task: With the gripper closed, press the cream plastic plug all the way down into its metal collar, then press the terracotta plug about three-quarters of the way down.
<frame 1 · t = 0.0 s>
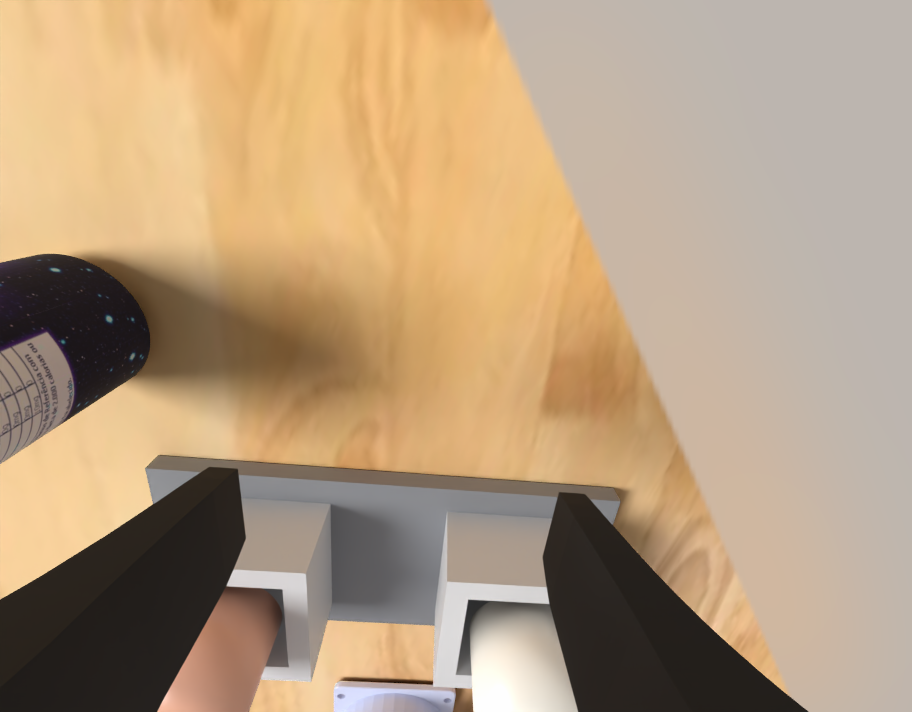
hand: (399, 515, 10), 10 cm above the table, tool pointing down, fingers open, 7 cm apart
plug panel: (388, 545, 24), on the table
terracotta plug: (208, 661, 17), point 6 cm above the table, slide at 0.0 cm
cream plug: (523, 675, 18), point 6 cm above the table, slide at 0.0 cm
beverage can: (97, 315, 18), on the table
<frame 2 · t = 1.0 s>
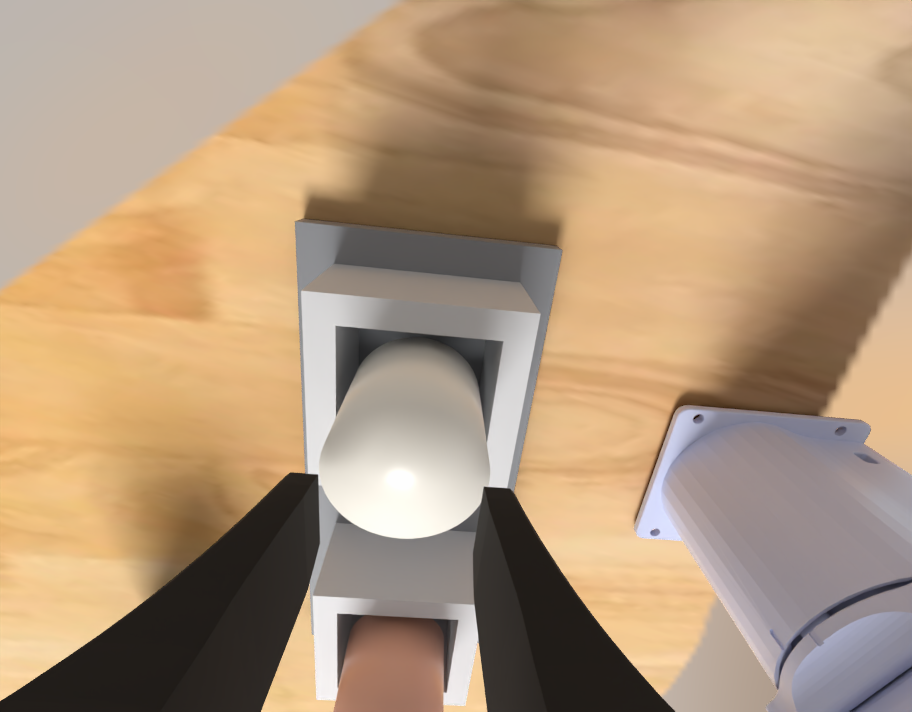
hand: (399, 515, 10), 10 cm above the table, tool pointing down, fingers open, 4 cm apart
plug panel: (412, 468, 21), on the table
terracotta plug: (391, 689, 18), point 6 cm above the table, slide at 0.0 cm
cream plug: (411, 429, 13), point 6 cm above the table, slide at 0.0 cm
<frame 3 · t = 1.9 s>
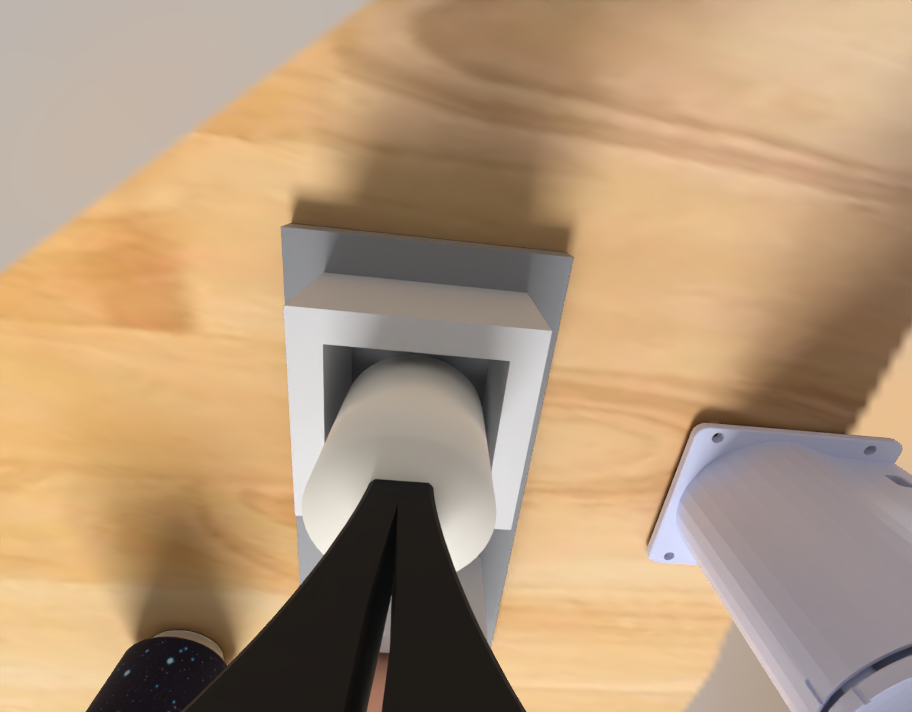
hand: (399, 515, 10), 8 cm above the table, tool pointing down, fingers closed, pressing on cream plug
plug panel: (410, 489, 20), on the table
cream plug: (407, 459, 12), point 6 cm above the table, slide at 0.1 cm, touching gripper
beverage can: (188, 650, 25), on the table
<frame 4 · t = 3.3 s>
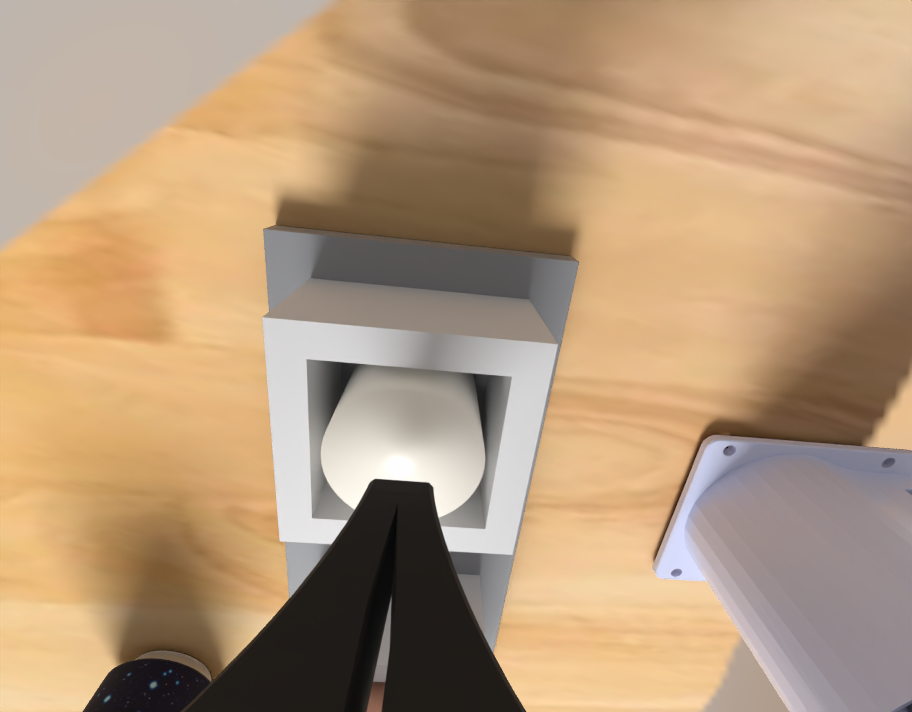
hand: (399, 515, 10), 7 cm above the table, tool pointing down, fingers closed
plug panel: (405, 504, 19), on the table
cream plug: (409, 419, 13), point 3 cm above the table, slide at 3.1 cm
beverage can: (174, 670, 24), on the table
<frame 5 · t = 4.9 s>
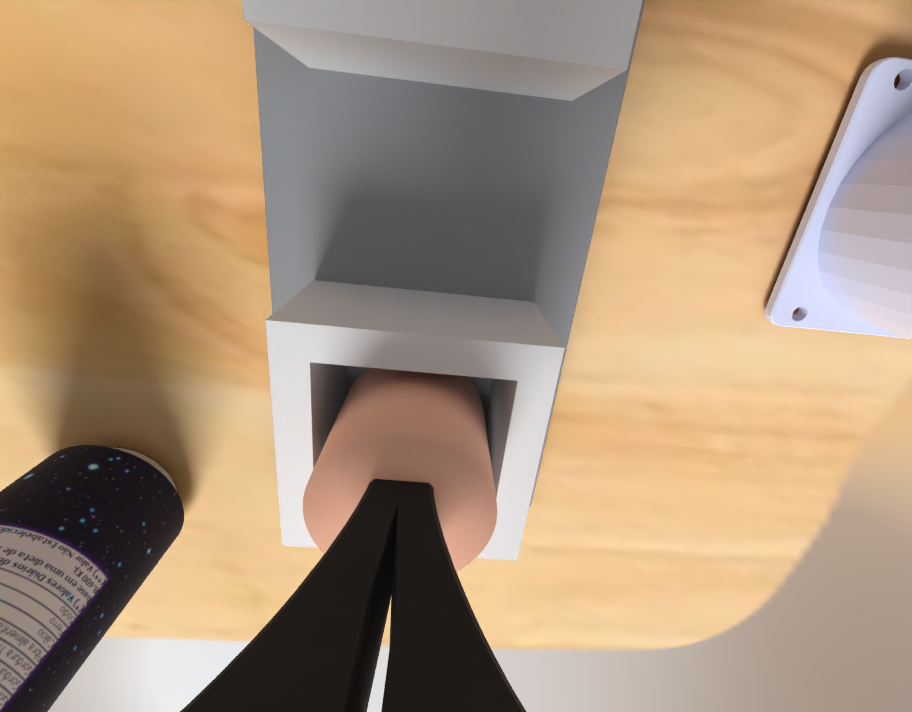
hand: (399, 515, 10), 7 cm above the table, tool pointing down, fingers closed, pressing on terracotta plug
plug panel: (434, 195, 14), on the table
terracotta plug: (408, 458, 12), point 5 cm above the table, slide at 1.3 cm, touching gripper
beverage can: (130, 484, 18), on the table
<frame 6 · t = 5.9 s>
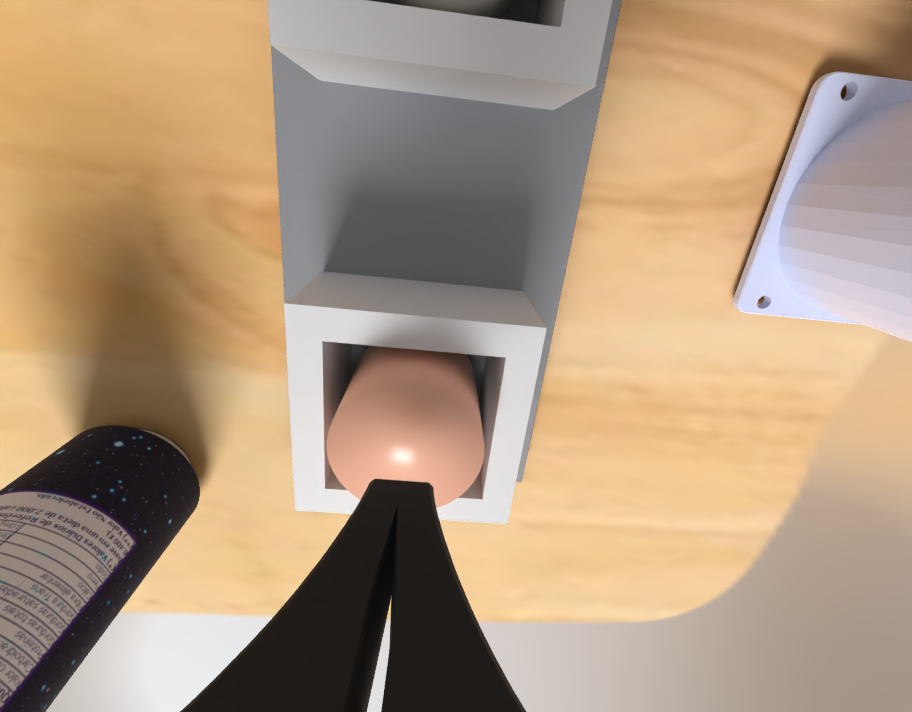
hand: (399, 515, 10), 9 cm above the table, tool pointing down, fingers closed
plug panel: (432, 194, 15), on the table
terracotta plug: (411, 413, 14), point 4 cm above the table, slide at 2.2 cm
beverage can: (148, 464, 20), on the table
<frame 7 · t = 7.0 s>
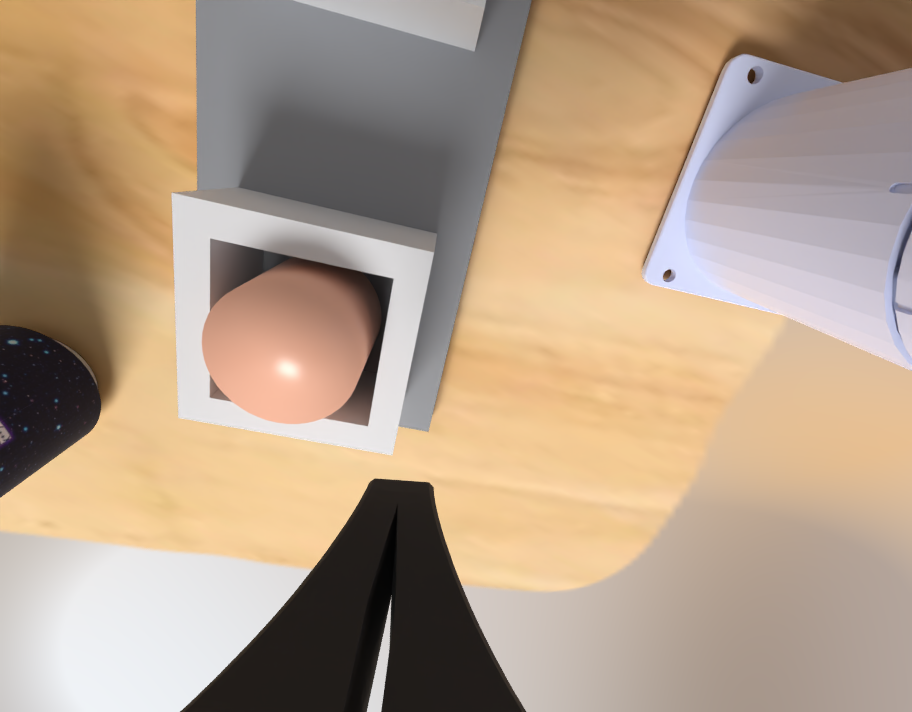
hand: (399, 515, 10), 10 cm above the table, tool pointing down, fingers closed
plug panel: (356, 125, 15), on the table
terracotta plug: (304, 332, 14), point 4 cm above the table, slide at 2.2 cm
beverage can: (52, 376, 19), on the table
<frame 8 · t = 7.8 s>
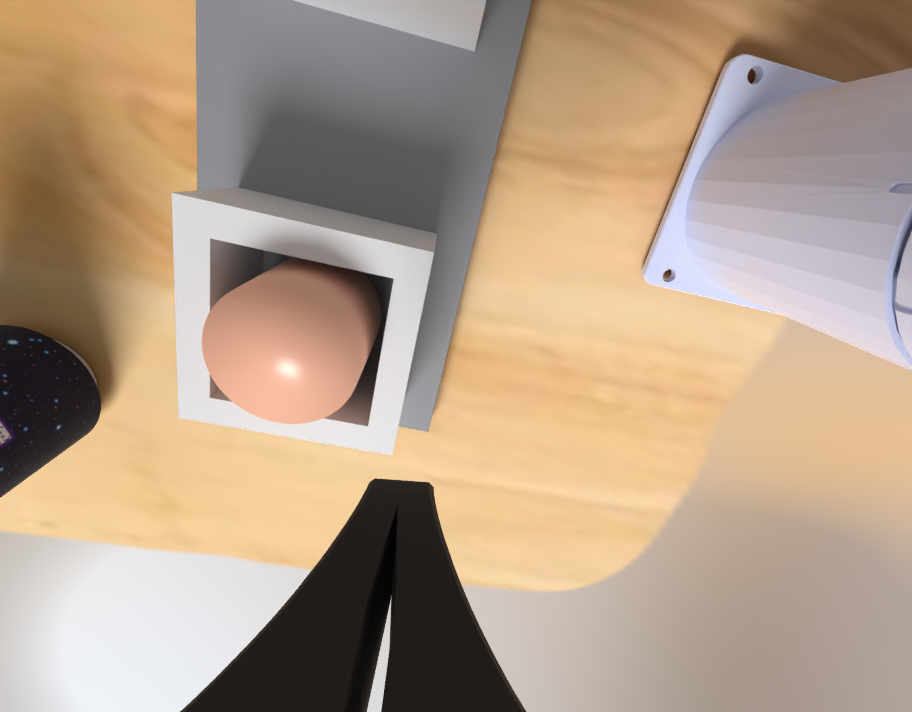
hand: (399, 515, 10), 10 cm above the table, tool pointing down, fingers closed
plug panel: (356, 125, 15), on the table
terracotta plug: (304, 332, 14), point 4 cm above the table, slide at 2.2 cm
beverage can: (52, 376, 19), on the table
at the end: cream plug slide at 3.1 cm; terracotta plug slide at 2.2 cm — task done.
